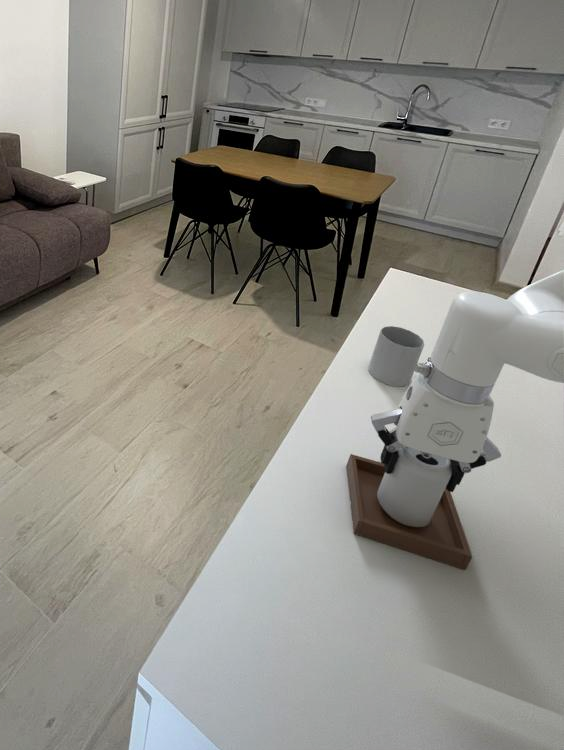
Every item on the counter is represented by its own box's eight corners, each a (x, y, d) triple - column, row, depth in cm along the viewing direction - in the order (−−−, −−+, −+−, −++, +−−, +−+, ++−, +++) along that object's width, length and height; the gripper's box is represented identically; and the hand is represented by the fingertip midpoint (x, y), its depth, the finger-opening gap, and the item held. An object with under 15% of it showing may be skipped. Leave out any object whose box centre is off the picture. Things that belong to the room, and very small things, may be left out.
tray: (441, 493, 81) (447, 481, 80) (465, 570, 69) (472, 557, 68) (346, 465, 85) (350, 453, 84) (353, 533, 73) (358, 520, 72)
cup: (378, 358, 116) (390, 322, 112) (415, 377, 110) (430, 339, 106) (361, 371, 111) (374, 334, 107) (400, 392, 105) (414, 352, 101)
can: (379, 522, 75) (404, 463, 70) (371, 483, 81) (393, 426, 76) (435, 538, 73) (463, 478, 68) (422, 496, 79) (447, 440, 75)
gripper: (391, 379, 66) (356, 475, 73) (545, 416, 61) (491, 516, 68) (383, 349, 73) (351, 440, 80) (521, 380, 68) (475, 474, 75)
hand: (416, 474), depth 74 cm, fingers closed on can, 7 cm apart
